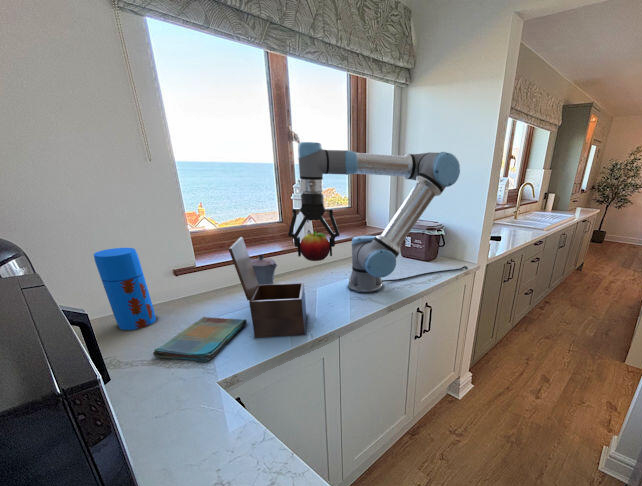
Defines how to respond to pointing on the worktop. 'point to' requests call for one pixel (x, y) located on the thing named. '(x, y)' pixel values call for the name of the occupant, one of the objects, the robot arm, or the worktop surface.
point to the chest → (278, 310)
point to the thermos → (125, 287)
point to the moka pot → (264, 269)
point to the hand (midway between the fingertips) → (315, 255)
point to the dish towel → (201, 339)
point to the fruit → (315, 246)
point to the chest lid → (244, 267)
